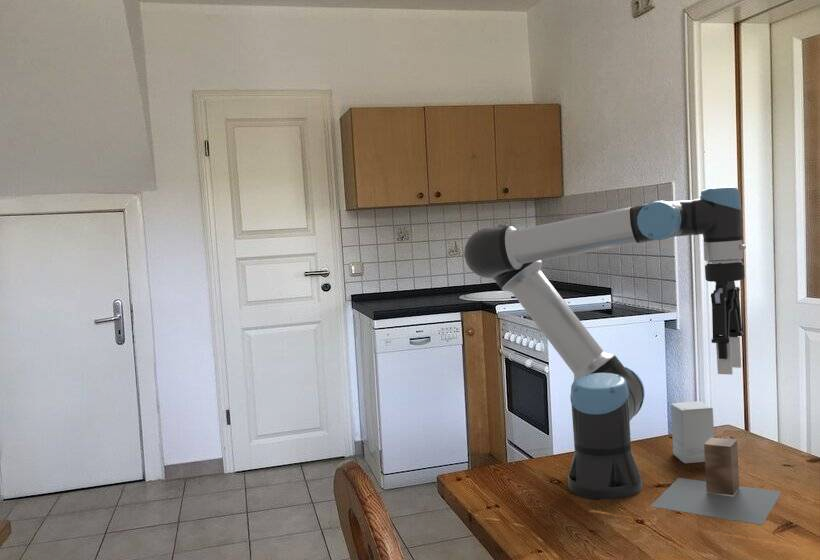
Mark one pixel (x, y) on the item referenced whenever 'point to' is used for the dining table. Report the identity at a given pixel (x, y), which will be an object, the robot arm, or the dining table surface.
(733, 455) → the walnut block
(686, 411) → the supplement box
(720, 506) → the rubber mat
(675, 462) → the dining table surface
